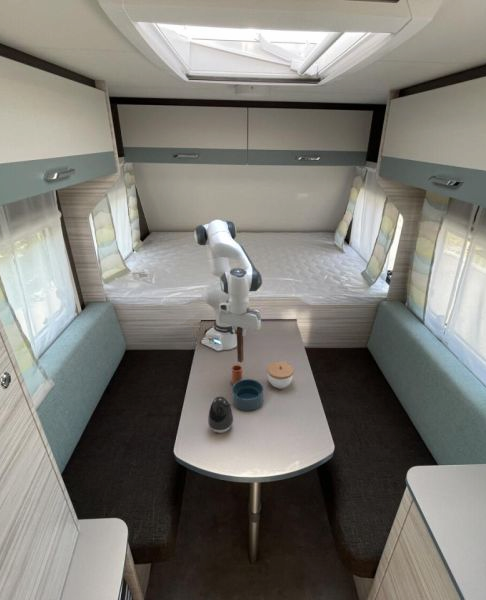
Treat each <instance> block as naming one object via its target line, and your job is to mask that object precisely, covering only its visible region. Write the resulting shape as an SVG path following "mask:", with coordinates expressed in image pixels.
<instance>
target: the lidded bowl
mask: <svg viewBox="0 0 486 600" xmlns="http://www.w3.org/2000/svg"><path fill="white" fill-rule="evenodd" d="M293 377H294V367H293V366H292V364H290V363H289V362H285V361H274V362H271V363H270V364H269V365H268V366H267V379H268V382H269V383H270V385H272V387H274V388H276V389H278V390H283V389H286V388H287V387H289V385H290V384H291V383H292V381H293Z"/></svg>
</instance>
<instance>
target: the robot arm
mask: <svg viewBox="0 0 486 600" xmlns="http://www.w3.org/2000/svg"><path fill="white" fill-rule="evenodd" d="M193 236H194V240H195V241H196V243H197V245H199V246H206V255H207V261H208V267H209V270H210V273H211V274H212V275H213V276H215V277H218V278H220V279H219V281H220V282H217V283H211V284H210V285H206V286H204V287H203V288H202V291H201V298H202V300H203V302H204V303H205V304H206V305H209V306H211V307H212V309H213V310H214V315H215V321H214V322H213V323H212V324H211V326H210V327H208V328H206V329H205V330H204V334H205V335H204V337H203V338H202V339H201V344H202V345H204V346H206V347H209V348H210V349H213V350H215V351H217V352H222V351H227V350H233V349H234V348H237V327H241V328H243V331H242V332H241V336H243V337H245V336H246V332H247V330H249V331H253V332H258V331H259V330H260V329H261V328H262V320H261V318H262V315H261V313H260V311H259V310H258V309H253V308H250V298H249V297H250V296H249V292H257V291H258V290H259V289H260V288H261V287H262V285H263V279H262V278H263V277H262V274H261V273H260V271H259V270H258V269H257V268H256V267H255V265H254V263H253V261H252V259H251V258H250V256H249V255H248V253H247V251H246V250H245V248H244V247H243V246H242V244H240V243H238V242H237V241H235V238H236V236H237V228H236V225H235V223H234V222H233V221H230V220H226V221H223V220H222V219H221V220H220V219H214V220H212V221H210V222H209V223H206V224H200V225H197V226H196V227H195V228H194V233H193ZM230 259H232V260H235V261H237V262H238V263H239V264H240V265H241V267H240V268H239V267H235V268H231V265H230Z"/></svg>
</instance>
